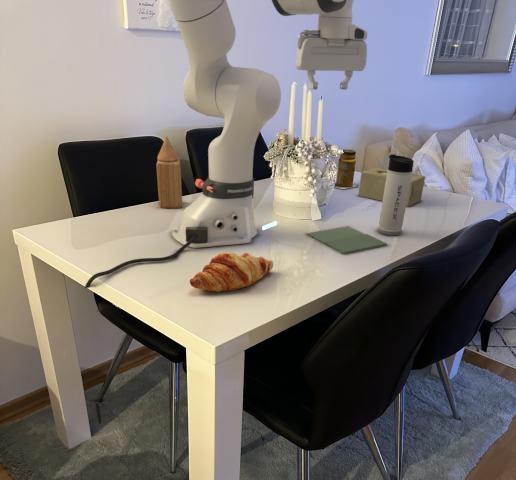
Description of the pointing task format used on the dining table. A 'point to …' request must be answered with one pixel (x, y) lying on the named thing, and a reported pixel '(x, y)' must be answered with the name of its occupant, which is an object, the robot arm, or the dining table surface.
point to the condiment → (346, 170)
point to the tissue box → (376, 179)
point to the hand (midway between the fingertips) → (328, 89)
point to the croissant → (231, 272)
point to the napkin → (347, 240)
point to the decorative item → (169, 177)
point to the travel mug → (395, 195)
